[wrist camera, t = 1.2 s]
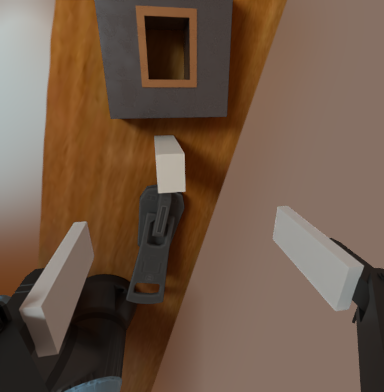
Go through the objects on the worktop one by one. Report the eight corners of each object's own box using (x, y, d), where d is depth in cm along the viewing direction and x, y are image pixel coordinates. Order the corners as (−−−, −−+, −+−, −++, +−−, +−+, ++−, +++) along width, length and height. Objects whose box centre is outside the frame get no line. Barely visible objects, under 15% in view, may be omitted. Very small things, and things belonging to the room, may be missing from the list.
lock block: (217, 114, 42) (227, 116, 37) (116, 116, 40) (110, 118, 34) (221, -9, 35) (234, -30, 30) (99, -17, 33) (88, -42, 27)
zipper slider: (122, 303, 47) (141, 193, 39) (125, 280, 53) (142, 180, 45) (165, 305, 50) (192, 201, 41) (163, 283, 56) (186, 188, 47)
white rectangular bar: (174, 161, 44) (185, 191, 30) (156, 162, 44) (158, 193, 29) (173, 135, 42) (184, 153, 28) (154, 135, 42) (155, 154, 27)
